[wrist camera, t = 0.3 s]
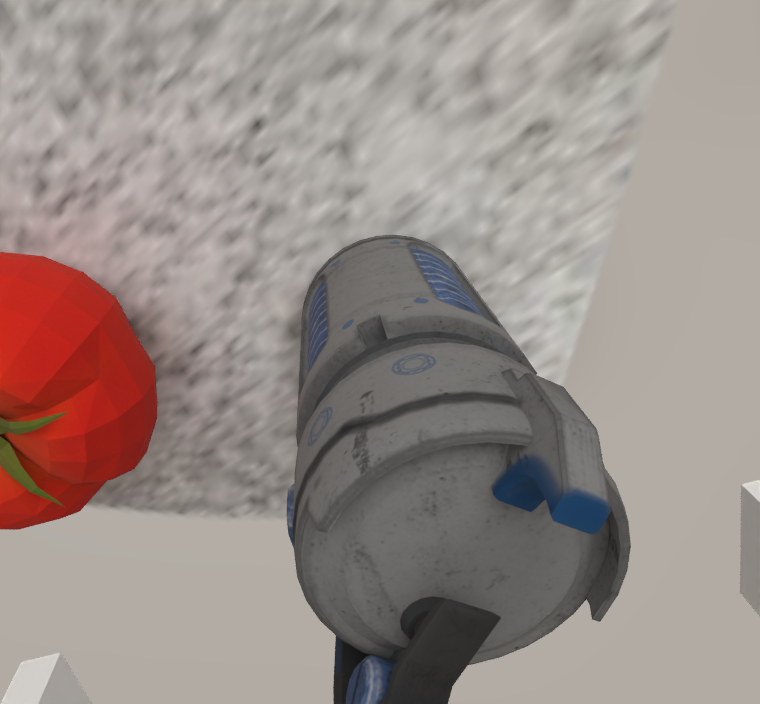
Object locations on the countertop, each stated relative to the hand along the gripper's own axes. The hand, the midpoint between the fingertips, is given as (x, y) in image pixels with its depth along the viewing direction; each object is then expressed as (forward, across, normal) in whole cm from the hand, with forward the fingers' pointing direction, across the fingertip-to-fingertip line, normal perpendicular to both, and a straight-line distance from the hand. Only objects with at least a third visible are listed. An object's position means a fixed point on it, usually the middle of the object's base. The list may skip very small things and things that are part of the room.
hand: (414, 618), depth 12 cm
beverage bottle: (+28, +1, -5) cm, 28 cm away
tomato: (+28, -18, -2) cm, 33 cm away
